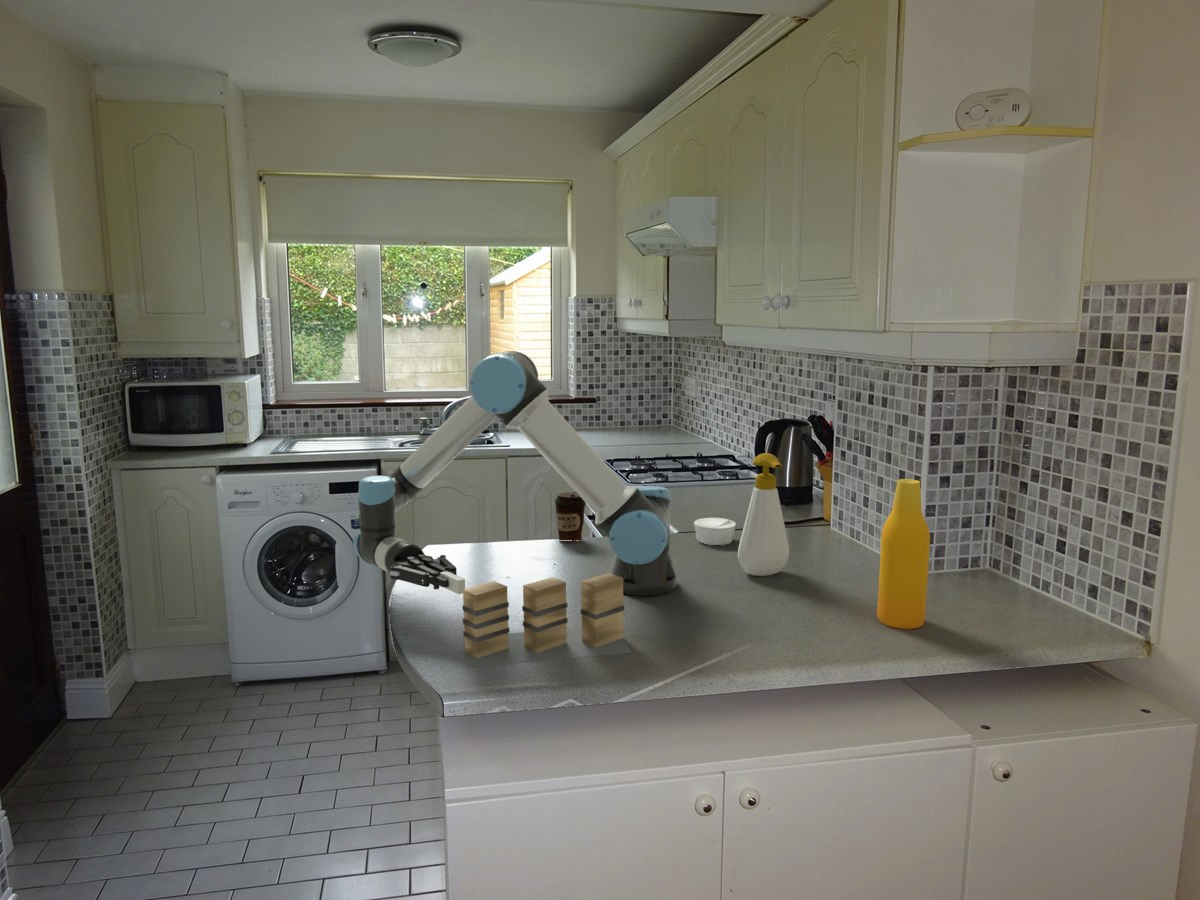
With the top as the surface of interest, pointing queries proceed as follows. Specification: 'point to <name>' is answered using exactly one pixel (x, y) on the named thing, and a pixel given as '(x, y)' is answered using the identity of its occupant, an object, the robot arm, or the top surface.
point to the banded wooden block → (602, 609)
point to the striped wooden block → (485, 619)
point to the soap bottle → (764, 525)
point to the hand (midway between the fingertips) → (461, 586)
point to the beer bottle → (904, 560)
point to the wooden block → (544, 614)
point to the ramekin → (714, 531)
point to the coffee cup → (570, 516)
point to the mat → (564, 651)
